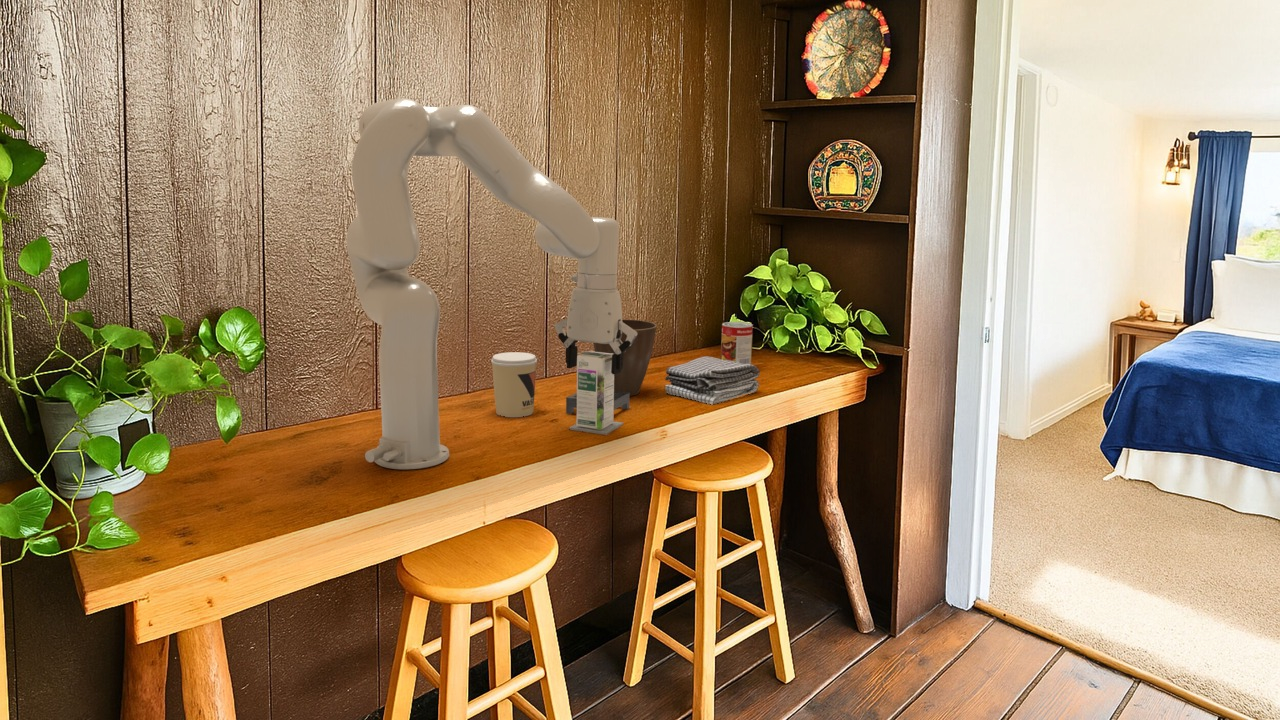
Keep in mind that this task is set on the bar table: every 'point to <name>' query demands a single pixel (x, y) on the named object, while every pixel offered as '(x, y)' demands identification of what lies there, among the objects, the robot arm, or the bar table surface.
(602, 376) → the syrup box
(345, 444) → the bar table surface
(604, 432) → the slate mat
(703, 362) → the towel
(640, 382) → the plant pot
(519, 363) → the coffee cup
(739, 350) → the canned food
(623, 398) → the collar stand
